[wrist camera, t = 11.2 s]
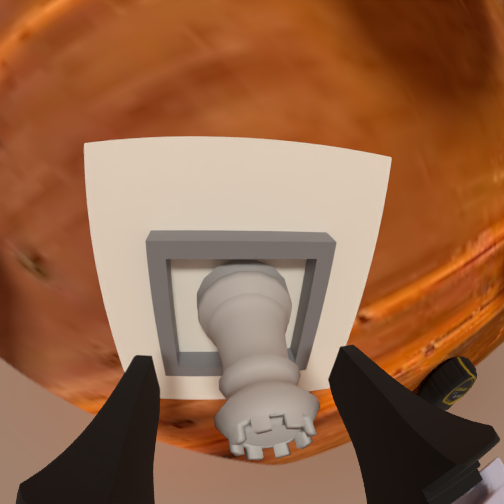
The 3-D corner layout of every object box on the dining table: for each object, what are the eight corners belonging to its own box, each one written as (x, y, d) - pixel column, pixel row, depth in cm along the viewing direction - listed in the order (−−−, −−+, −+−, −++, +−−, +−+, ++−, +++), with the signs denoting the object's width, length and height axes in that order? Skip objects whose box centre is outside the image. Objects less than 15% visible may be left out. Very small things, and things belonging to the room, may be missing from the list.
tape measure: (405, 392, 23) (421, 417, 20) (450, 344, 21) (470, 368, 18) (430, 395, 25) (444, 416, 22) (469, 354, 23) (485, 374, 20)
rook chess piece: (288, 321, 15) (338, 451, 8) (206, 335, 15) (213, 475, 7) (283, 246, 13) (360, 383, 6) (187, 262, 13) (172, 419, 5)
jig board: (135, 388, 17) (131, 409, 15) (91, 142, 10) (71, 145, 9) (325, 380, 19) (334, 400, 17) (383, 155, 12) (406, 161, 11)
